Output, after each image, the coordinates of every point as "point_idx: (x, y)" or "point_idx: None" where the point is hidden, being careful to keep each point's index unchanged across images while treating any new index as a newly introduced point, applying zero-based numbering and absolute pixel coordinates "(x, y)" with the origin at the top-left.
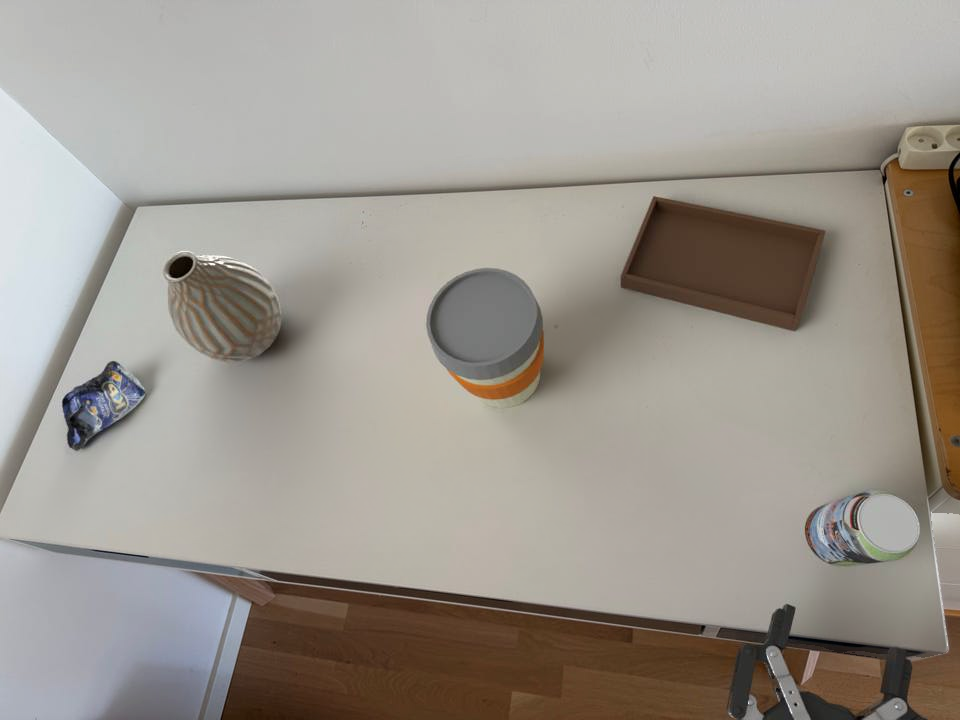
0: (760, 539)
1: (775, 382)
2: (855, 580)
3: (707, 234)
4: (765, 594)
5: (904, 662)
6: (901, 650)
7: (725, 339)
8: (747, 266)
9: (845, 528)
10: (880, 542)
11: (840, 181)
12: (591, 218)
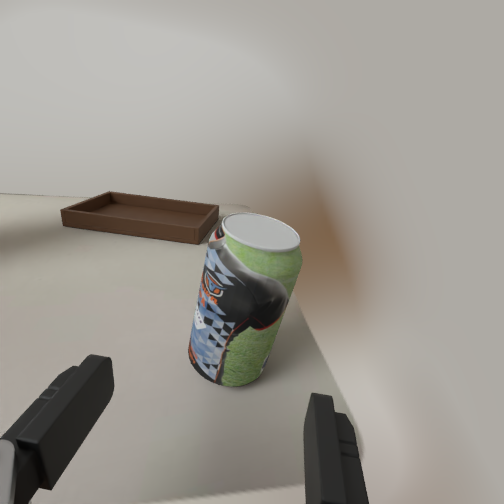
0: (131, 377)
1: (178, 265)
2: (256, 406)
3: (144, 210)
4: (117, 453)
5: (334, 414)
6: (322, 394)
7: (141, 247)
8: (168, 220)
9: (210, 248)
10: (253, 241)
11: (230, 205)
12: (60, 204)
